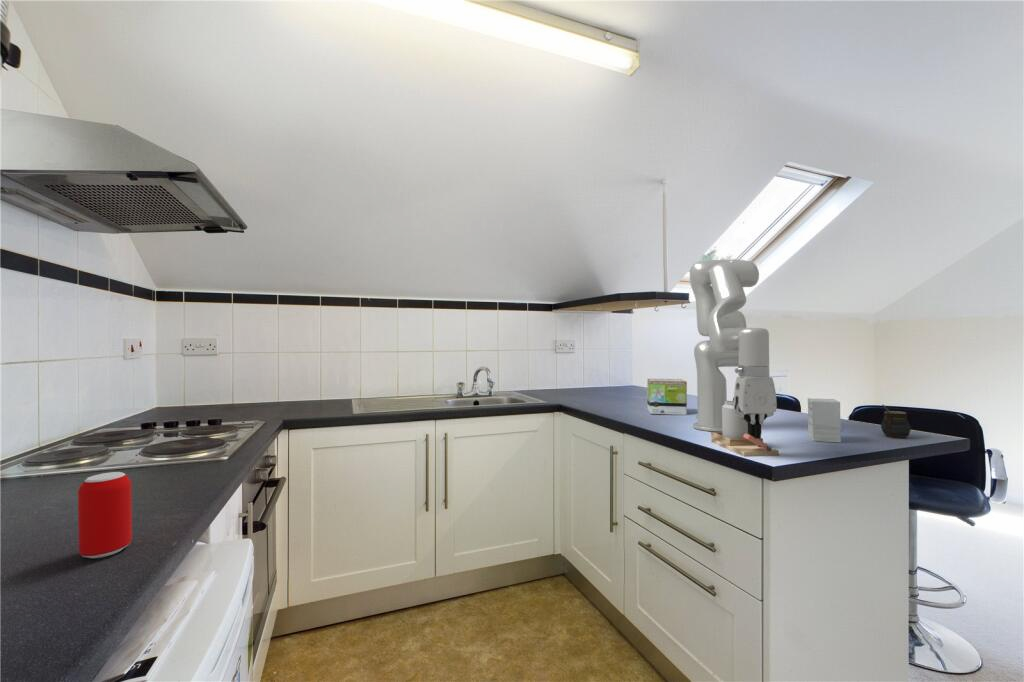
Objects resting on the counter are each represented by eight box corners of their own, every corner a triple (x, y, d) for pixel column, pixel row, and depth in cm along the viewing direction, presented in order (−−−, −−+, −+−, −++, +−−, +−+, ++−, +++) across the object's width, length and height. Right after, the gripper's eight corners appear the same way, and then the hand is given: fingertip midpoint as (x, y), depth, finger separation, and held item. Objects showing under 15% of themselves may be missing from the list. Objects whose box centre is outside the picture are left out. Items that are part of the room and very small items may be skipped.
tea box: (650, 414, 187) (650, 380, 187) (647, 411, 197) (646, 378, 197) (687, 415, 185) (686, 380, 185) (682, 411, 195) (681, 378, 195)
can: (745, 438, 135) (745, 400, 135) (754, 444, 128) (753, 403, 128) (719, 438, 137) (719, 399, 137) (726, 443, 129) (725, 403, 129)
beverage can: (70, 565, 65) (69, 484, 65) (89, 547, 71) (88, 473, 71) (123, 556, 68) (122, 478, 68) (137, 539, 73) (136, 468, 73)
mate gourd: (902, 440, 136) (901, 408, 136) (874, 435, 143) (873, 405, 143) (916, 437, 138) (915, 406, 139) (888, 433, 146) (887, 403, 146)
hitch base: (711, 441, 137) (711, 432, 137) (741, 440, 138) (741, 431, 138) (743, 456, 120) (743, 445, 120) (778, 455, 121) (778, 444, 121)
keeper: (742, 436, 123) (744, 433, 123) (760, 446, 124) (762, 443, 124) (748, 438, 121) (750, 434, 121) (766, 448, 121) (768, 445, 121)
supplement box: (835, 438, 140) (834, 398, 140) (841, 443, 133) (840, 401, 133) (807, 436, 143) (807, 397, 143) (812, 441, 136) (811, 400, 136)
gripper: (736, 373, 118) (737, 441, 118) (788, 372, 119) (789, 439, 119) (720, 371, 125) (721, 435, 126) (770, 370, 127) (770, 433, 127)
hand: (754, 437), depth 122 cm, fingers closed
